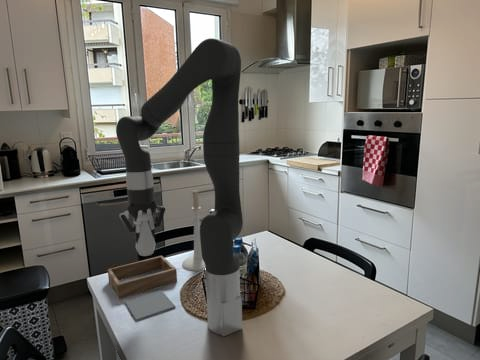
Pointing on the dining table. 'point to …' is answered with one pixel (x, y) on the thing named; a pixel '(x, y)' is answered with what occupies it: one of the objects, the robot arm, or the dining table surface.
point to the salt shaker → (145, 237)
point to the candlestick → (195, 240)
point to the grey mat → (149, 305)
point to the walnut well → (144, 282)
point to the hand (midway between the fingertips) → (145, 241)
